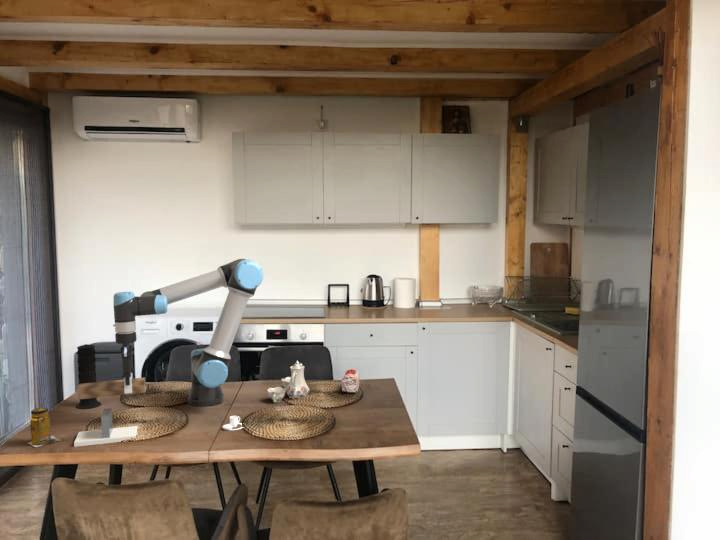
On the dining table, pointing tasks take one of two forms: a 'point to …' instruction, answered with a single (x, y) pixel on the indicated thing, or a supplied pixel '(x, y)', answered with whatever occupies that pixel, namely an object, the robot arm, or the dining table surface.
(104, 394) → the walnut batten
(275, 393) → the chinaware
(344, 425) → the dining table surface
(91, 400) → the handle grip
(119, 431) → the white board
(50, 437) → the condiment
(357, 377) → the food item
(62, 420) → the dining table surface
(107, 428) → the steel ridge
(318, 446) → the dining table surface
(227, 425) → the teacup and saucer
